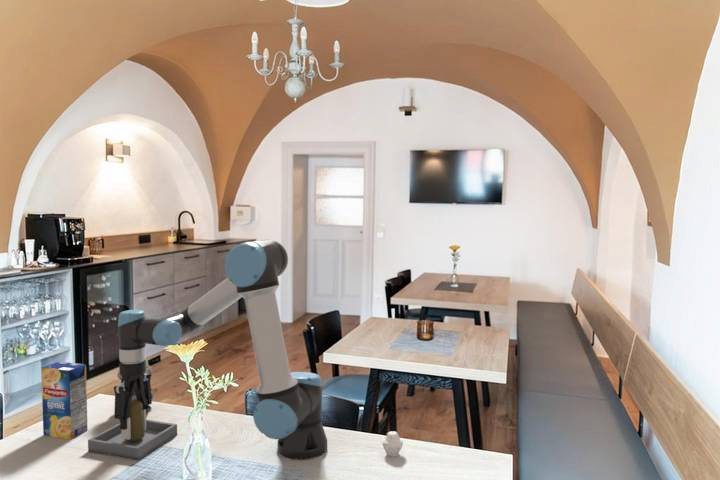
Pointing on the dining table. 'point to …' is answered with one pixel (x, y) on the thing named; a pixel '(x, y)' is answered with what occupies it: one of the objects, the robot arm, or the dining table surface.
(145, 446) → the box
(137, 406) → the olive pawn figure
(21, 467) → the dining table surface
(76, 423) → the beverage box
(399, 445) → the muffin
